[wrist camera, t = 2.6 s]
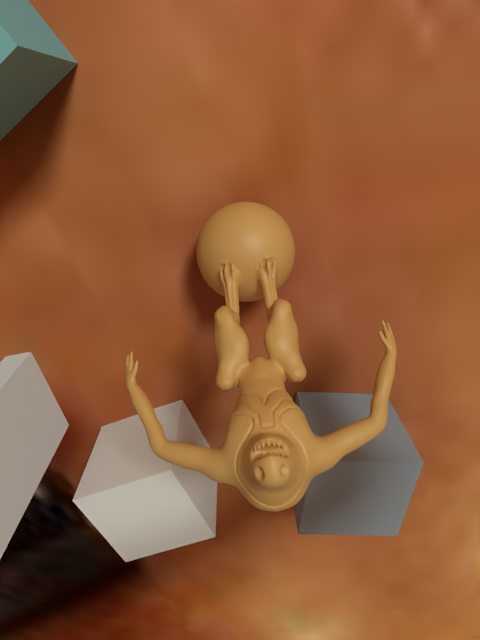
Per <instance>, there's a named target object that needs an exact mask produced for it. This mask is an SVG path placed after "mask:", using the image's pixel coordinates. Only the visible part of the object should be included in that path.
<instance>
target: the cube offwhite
mask: <svg viewBox="0 0 480 640" xmlns="http://www.w3.org/2000/svg"><path fill="white" fill-rule="evenodd" d="M154 412H155V415H156V417H157V419H158V421H159V422H160V424H161V426H162V428H163V431H164V435H165V438H166V439H167V440H169V441H177V442H184V443H189V444H194V445H199V446H204V447H208V448H210V446H209V445H208V443H207V441H206V439H205V438H204V436H203V434H202V433H201V431H200V429H199V427H198V426H197V424H196V422H195V420H194V419H193V417H192V415H191V414H190V412H189V410H188V408H187V407H186V405H185V403H184V402H183V400H179V401H176V402H173V403H170V404H167V405H164V406H161V407H158V408H155V409H154ZM73 502H74V503H75V504H76V505H77V506H78V508H79V509H80V510H81V511H82V512H83V513H84V515H85V516H86V517H87V518H88V519H89V520H90V521H91V523H92V524H93V525H94V526H95V527H96V528H97V530H98V531H99V532H100V533H101V534H102V535H103V537H104V538H105V539H106V540H107V541H108V542H109V543H110V545H111V546H112V547H113V548H114V549H115V550H116V552H117V553H118V554H119V555H120V556H121V557H122V558H123V560H124V561H125V562H128V561H132V560H135V559H139V558H142V557H146V556H149V555H153V554H157V553H160V552H164V551H167V550H171V549H174V548H178V547H182V546H185V545H189V544H192V543H196V542H199V541H203V540H207V539H210V538H214V537H216V507H217V482H216V481H213V480H212V479H210V478H208V477H207V476H205V475H204V474H202V473H200V472H198V471H195V470H191V469H187V468H183V467H180V466H178V465H175V464H172V463H169V462H167V461H165V460H163V459H161V458H159V457H158V456H157V455H156V454H155V453H154V452H153V451H152V449H151V447H150V444H149V440H148V437H147V433H146V430H145V427H144V425H143V423H142V421H141V419H140V417H139V415H138V414H137V415H134V416H132V417H129V418H126V419H123V420H120V421H117V422H114V423H111V424H108V425H105V426H102V427H101V430H100V432H99V435H98V437H97V440H96V442H95V445H94V448H93V450H92V453H91V455H90V458H89V460H88V463H87V465H86V468H85V470H84V473H83V475H82V478H81V480H80V483H79V485H78V488H77V490H76V493H75V495H74V498H73Z"/></svg>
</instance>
